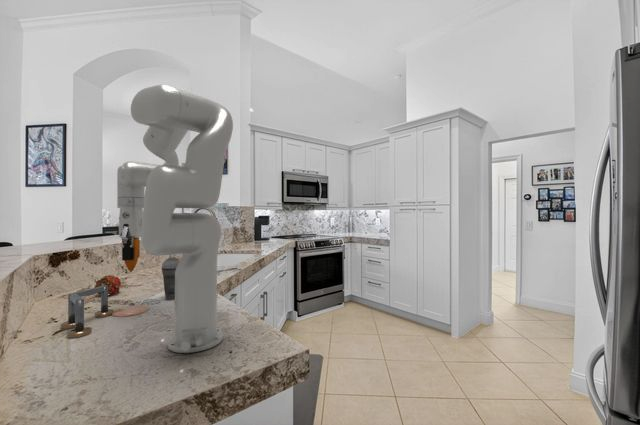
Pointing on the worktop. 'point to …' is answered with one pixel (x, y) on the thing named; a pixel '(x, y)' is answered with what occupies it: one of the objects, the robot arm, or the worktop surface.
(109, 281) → the dragon fruit
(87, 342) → the worktop surface
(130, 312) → the terracotta coaster
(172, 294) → the beverage cup
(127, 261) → the carrot
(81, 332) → the grey cabinet handle
